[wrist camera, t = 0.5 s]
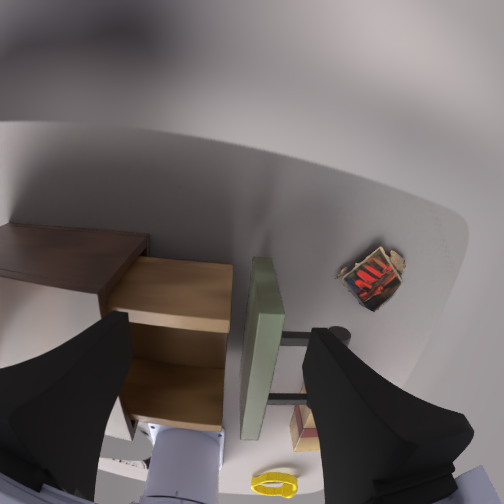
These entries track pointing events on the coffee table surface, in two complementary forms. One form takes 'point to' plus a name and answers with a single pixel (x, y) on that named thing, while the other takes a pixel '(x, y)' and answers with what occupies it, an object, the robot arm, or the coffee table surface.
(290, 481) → the yellow rubber band ring
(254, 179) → the coffee table surface
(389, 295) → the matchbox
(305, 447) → the tan red striped block
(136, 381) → the pullout
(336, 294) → the coffee table surface
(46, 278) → the cabinet
